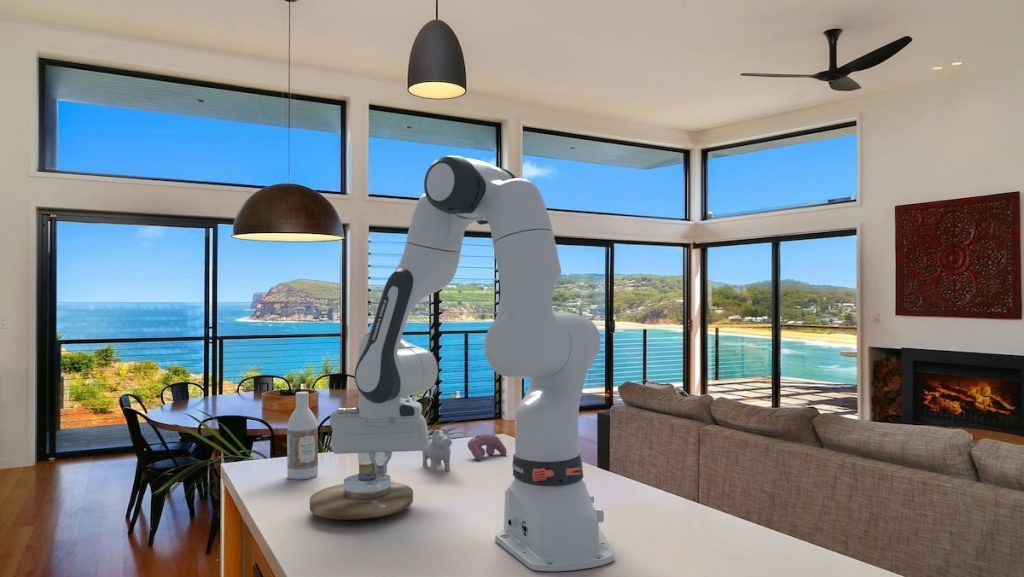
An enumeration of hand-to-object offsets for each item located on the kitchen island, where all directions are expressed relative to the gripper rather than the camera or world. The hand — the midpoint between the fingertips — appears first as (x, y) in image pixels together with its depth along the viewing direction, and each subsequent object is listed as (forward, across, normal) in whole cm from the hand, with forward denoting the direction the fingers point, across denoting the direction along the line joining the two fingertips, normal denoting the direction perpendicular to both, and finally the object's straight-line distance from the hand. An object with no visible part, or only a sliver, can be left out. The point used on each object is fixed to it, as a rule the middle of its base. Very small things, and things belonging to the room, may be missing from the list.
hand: (380, 472), depth 141 cm
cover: (+2, -2, -8) cm, 8 cm away
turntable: (+4, -3, -9) cm, 10 cm away
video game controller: (+6, +24, +34) cm, 42 cm away
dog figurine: (+6, +11, +22) cm, 26 cm away
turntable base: (+5, -3, -9) cm, 10 cm away
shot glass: (+5, -4, +16) cm, 17 cm away
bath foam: (+5, -21, +20) cm, 29 cm away
